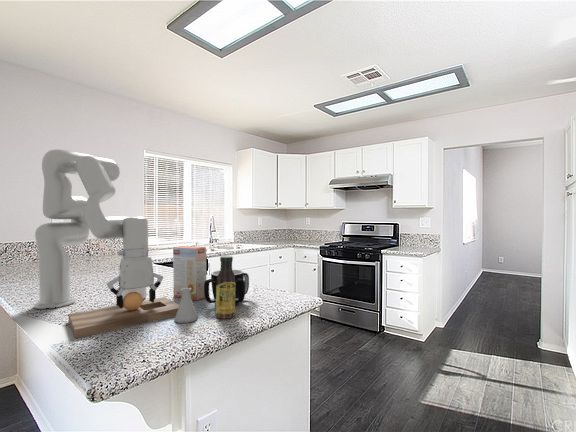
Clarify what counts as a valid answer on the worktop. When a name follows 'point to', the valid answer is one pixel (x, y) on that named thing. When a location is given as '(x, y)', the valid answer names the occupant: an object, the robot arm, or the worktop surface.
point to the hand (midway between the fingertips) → (136, 304)
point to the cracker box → (189, 270)
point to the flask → (186, 308)
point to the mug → (240, 286)
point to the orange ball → (132, 301)
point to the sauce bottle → (225, 289)
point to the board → (120, 317)
